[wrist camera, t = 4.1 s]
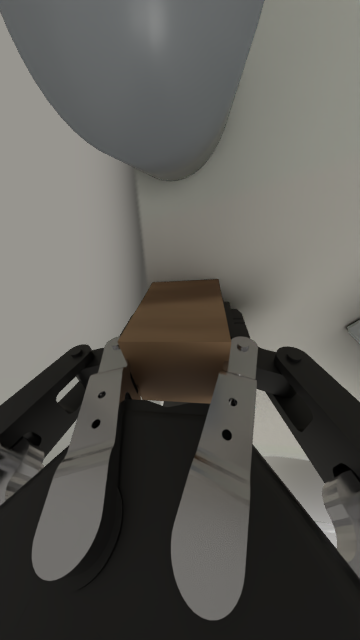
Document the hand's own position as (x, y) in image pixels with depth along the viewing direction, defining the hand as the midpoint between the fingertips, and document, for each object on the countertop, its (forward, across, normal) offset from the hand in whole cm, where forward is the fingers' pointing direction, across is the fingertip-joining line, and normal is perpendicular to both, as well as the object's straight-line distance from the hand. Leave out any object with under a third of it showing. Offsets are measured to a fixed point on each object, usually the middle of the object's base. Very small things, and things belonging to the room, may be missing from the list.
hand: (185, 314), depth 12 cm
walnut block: (+1, 0, 0) cm, 1 cm away
